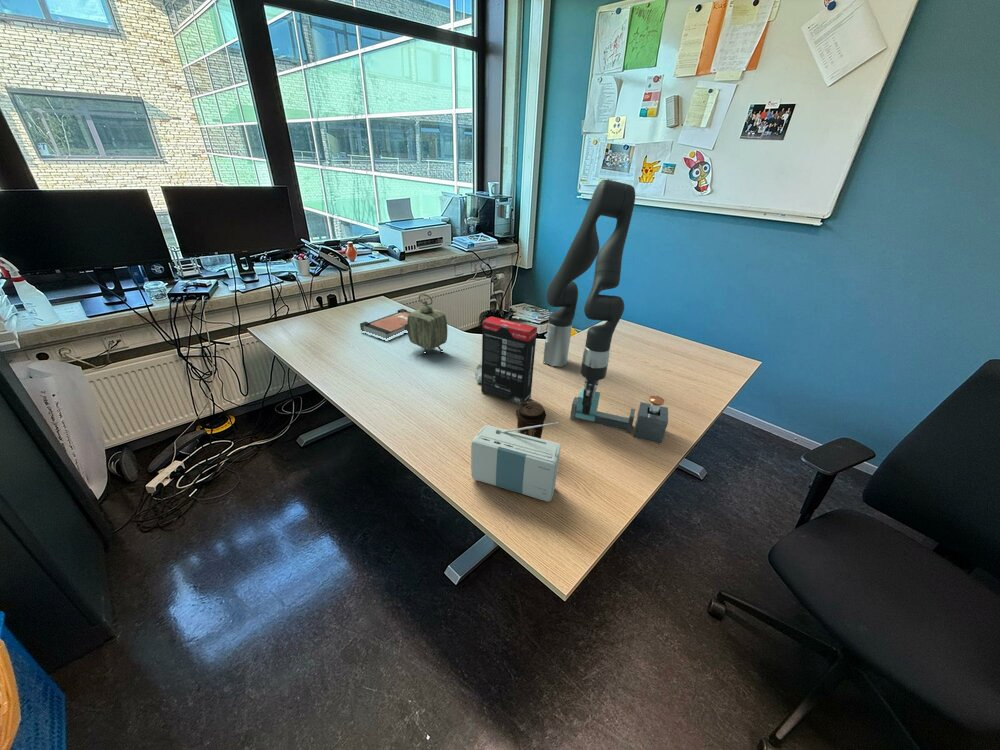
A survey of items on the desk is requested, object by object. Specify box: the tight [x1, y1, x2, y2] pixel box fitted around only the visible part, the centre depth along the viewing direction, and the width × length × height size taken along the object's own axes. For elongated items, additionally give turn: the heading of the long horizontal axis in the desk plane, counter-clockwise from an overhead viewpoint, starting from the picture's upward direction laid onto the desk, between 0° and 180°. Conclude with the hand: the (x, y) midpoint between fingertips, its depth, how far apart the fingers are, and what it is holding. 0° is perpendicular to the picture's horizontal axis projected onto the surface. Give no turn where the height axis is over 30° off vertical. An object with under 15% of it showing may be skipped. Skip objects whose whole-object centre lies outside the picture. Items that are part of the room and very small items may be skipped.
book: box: [359, 308, 412, 339], centre depth 186 cm, size 26×17×5 cm, turn 146°
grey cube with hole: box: [633, 401, 669, 444], centre depth 119 cm, size 8×8×8 cm
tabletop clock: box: [407, 293, 448, 353], centre depth 160 cm, size 14×9×25 cm, turn 58°
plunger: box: [648, 395, 665, 415], centre depth 117 cm, size 4×4×7 cm
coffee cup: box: [515, 401, 547, 439], centre depth 111 cm, size 9×8×13 cm
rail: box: [569, 396, 636, 434], centre depth 124 cm, size 19×4×6 cm, turn 70°
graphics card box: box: [480, 316, 538, 406], centre depth 131 cm, size 17×7×27 cm, turn 61°
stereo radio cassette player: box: [470, 421, 562, 503], centre depth 96 cm, size 21×8×20 cm, turn 69°
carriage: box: [575, 388, 601, 421], centre depth 124 cm, size 6×5×8 cm
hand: (587, 408), depth 125 cm, fingers closed on carriage, 5 cm apart
